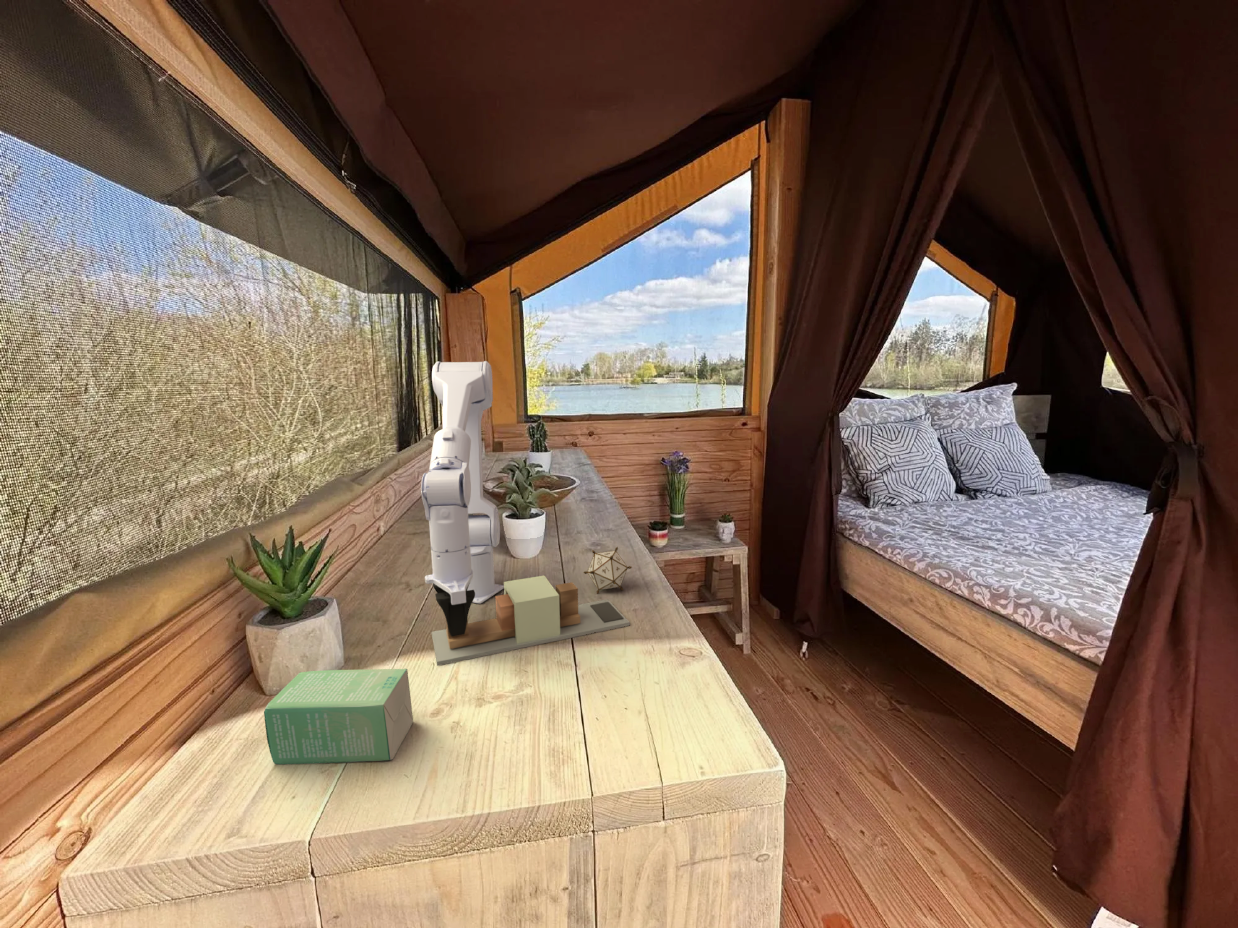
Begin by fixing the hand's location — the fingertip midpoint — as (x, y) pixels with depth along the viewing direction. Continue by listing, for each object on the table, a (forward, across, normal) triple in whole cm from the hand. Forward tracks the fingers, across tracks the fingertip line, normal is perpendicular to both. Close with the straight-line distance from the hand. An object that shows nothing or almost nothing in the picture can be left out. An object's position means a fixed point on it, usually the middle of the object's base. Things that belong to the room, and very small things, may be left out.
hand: (456, 629), depth 85 cm
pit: (+3, 0, +25) cm, 25 cm away
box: (+3, +18, -15) cm, 23 cm away
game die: (+3, -10, +30) cm, 32 cm away
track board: (+3, 0, +12) cm, 12 cm away
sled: (+3, 0, +9) cm, 10 cm away
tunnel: (+3, 0, +12) cm, 12 cm away
